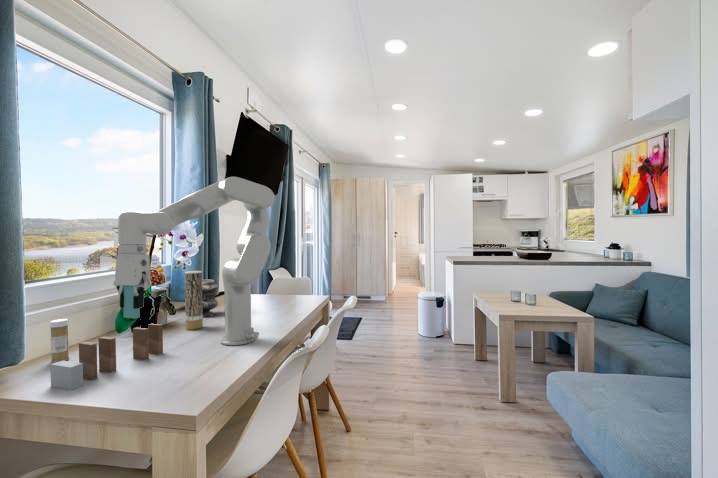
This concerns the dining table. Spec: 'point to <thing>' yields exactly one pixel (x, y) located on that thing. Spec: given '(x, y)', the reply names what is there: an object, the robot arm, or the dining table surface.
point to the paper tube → (193, 300)
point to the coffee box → (161, 306)
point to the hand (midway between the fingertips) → (131, 306)
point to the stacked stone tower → (208, 297)
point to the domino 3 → (130, 303)
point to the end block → (66, 375)
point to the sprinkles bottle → (59, 340)
